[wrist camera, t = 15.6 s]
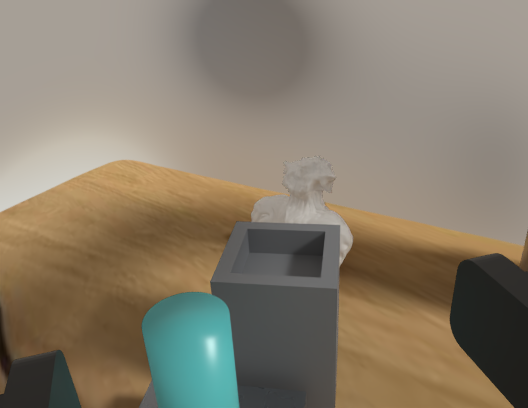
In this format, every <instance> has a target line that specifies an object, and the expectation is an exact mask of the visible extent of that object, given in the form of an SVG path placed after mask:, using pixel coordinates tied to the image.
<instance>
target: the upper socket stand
mask: <svg viewBox="0 0 528 408" xmlns="http://www.w3.org/2000/svg"><path fill="white" fill-rule="evenodd" d="M339 265H340V225H327V224H298V223H268V222H239V221H237V222H236V224H235V226H234V229H233V231H232V233H231V236H230V238H229V240H228V242H227V245H226V247H225V249H224V252H223V254H222V256H221V258H220V261H219V263H218V265H217V268H216V270H215V272H214V274H213V277H212V279H211V281H210V283H211V291H212V295H214V296H216V297H218V298H220V299H221V300H222V301H224V302H225V304H226V305H227V307H228V309H229V313H230V322H231V331H232V341H233V350H234V360H235V370H236V379H237V385H239V386H250V387H261V388H272V389H283V390H294V391H305V392H306V405H307V408H335V395H336V371H337V346H338V310H339Z"/></svg>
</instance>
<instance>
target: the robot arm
mask: <svg viewBox="0 0 528 408" xmlns="http://www.w3.org/2000/svg"><path fill="white" fill-rule="evenodd" d="M450 325H451V330H452V333H453V335H454V337H455V339H456V341H457V343H458V344H459V346H460V347H461V348H462V349H463V350H464V351H465V352H466V354H467V355H468V356H469V357H470V358H471V359H472V360H473V361H474V363H475V364H476V365H477V366H478V367H479V368H480V369H481V370H482V372H483V373H484V374H485V375H486V376H487V377H488V378H489V379H490V381H491V382H492V383H493V384H494V385H495V386H496V387H497V388H498V390H499V391H500V392H501V393H502V394H503V395H504V396H505V397H506V399H507V400H508V401H509V402H510V403H511V404H512V405H513V406H514V408H528V231H527V236H526V240H525V245H524V250H523V253H522V258H521V262H520V267H518V266H517V265H515V264H514V263H513V262H511V261H510V260H509V259H508V258H506V257H505V256H503V255H501V254H498V253H495V254H490V255H485V256H481V257H476V258H472V259H467V260H464V261H462V262H461V263H460V264H459V266H458V270H457V275H456V282H455V288H454V294H453V300H452V307H451V313H450ZM0 408H81V405H80V402H79V399H78V396H77V393H76V390H75V387H74V384H73V381H72V378H71V375H70V372H69V369H68V366H67V363H66V360H65V357H64V355H63V353H62V351H61V350H56V351H51V352H47V353H42V354H38V355H34V356H29V357H25V358H20V359H16V360H14V361H13V363H12V365H11V368H10V372H9V376H8V380H7V384H6V388H5V393H4V394H1V395H0Z"/></svg>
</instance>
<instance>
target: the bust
mask: <svg viewBox="0 0 528 408" xmlns="http://www.w3.org/2000/svg"><path fill="white" fill-rule="evenodd" d="M283 164H284V166H285V170H284V174H285V176H284V177H283V181H282V185H283V186H285V188H286V189H288V192H289V193H290V197H288V196H287V195H276V196H271V197H263V198H261V199H260V200H259V201H257V202H256V203H255V204H254V210H253V211H252V213H251V219H252V222H268V223H298V224H327V225H340V265H341V264H342V262H343V260H344V258H345V257H346V254H347V253H348V252H349V251H350V249H351V247H352V243H353V235H352V234H351V232H350V229H349V227H348V226H347V224H346V223H345V221H344V219H343V218H342V217H341V216H340V215H339V214H337V213H336V212H334V211H332V210H329V209H328V207H327V206H325V203H324V201H323V195H322V193H323V190H325V191H327V192H328V193H332V185H333V181H334V180H335V179H336V176H335V174H334V172H333V169H332V165H331V163H330V162H329V161H326V160H325V159H324V158H323V159H321V158H320V156H318V157H316V156H314V157H311V158H310V157H308V158H302V159H301V160H300V161H295V162H292V163H290V162H287V161H285V162H283ZM340 265H339V267H340Z"/></svg>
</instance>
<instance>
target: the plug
mask: <svg viewBox="0 0 528 408" xmlns="http://www.w3.org/2000/svg"><path fill="white" fill-rule="evenodd" d="M142 333H143V337H144V342H145V347H146V352H147V357H148V361H149V366H150V371H151V376H152V381H153V385H154V390H155V395H156V400H157V405H158V408H239V399H238V389H237V379H236V370H235V360H234V350H233V341H232V331H231V322H230V313H229V309H228V307H227V305H226V304H225V302H224V301H222V300H221V299H220V298H218V297H216V296H214V295H211V294H208V293H202V292H187V293H181V294H176V295H173V296H170V297H168V298H165V299H163V300H161V301H160V302H158V303H157V304H155V305H154V306H153V307H152V308H151V309H150V310H149V311H148V312H147V313H146V315H145V316H144V319H143V321H142Z"/></svg>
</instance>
